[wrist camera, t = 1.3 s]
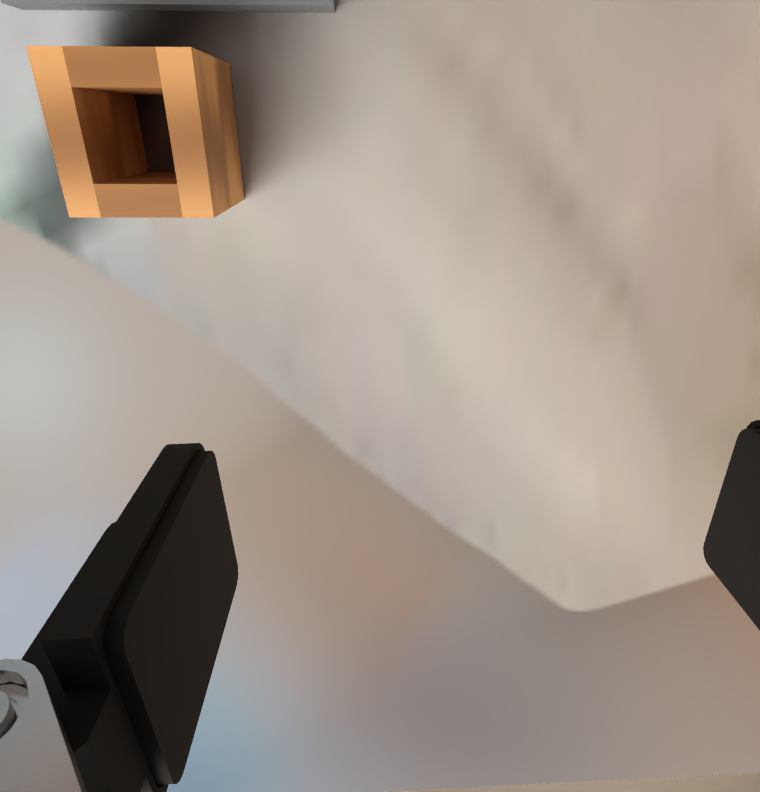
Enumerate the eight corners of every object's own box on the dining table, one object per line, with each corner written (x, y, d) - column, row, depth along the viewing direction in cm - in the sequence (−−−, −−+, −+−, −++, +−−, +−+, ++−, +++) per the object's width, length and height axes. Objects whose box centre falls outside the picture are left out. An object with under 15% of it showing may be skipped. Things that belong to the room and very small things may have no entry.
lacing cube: (100, 62, 25) (25, 45, 19) (229, 63, 25) (191, 47, 19) (128, 199, 27) (69, 217, 22) (244, 199, 27) (213, 217, 22)
